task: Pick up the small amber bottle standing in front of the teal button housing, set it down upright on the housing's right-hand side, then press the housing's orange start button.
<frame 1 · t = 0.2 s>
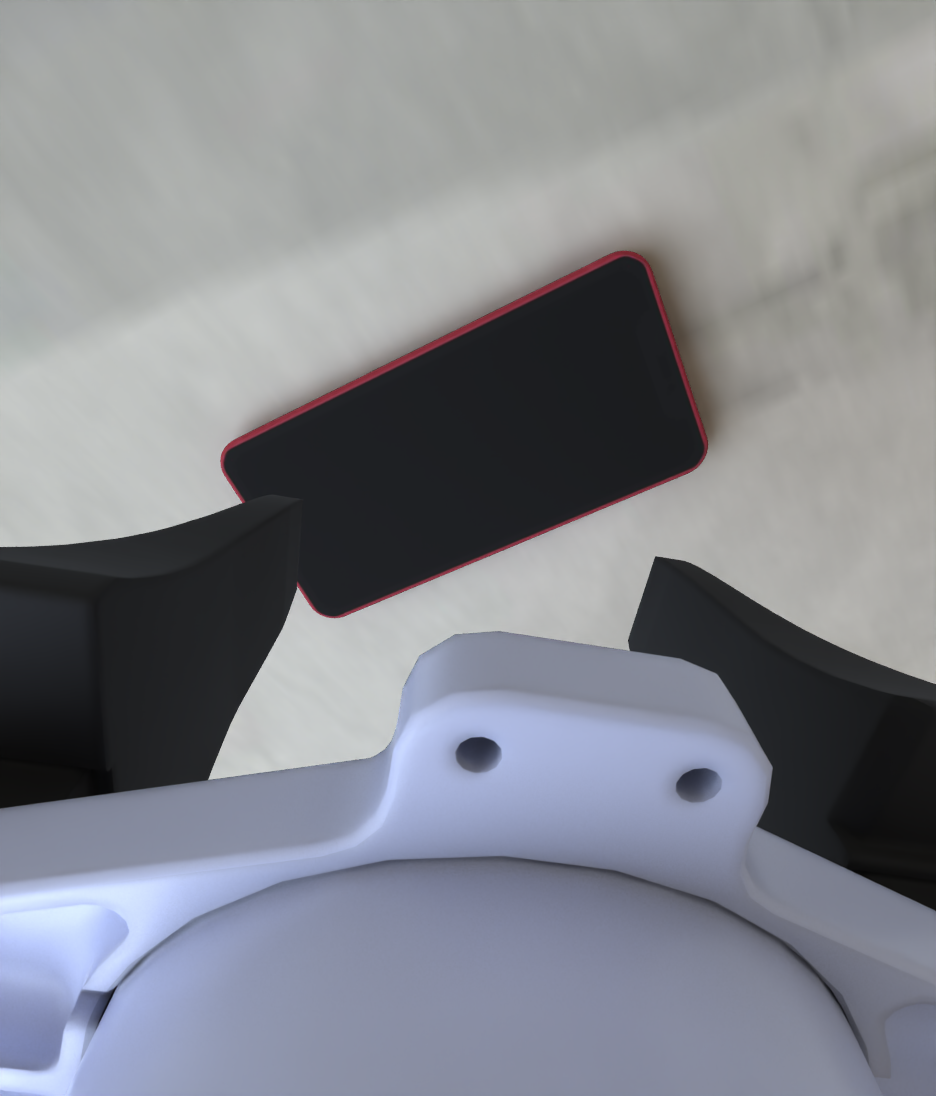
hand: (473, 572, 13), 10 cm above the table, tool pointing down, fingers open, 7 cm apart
smartphone: (462, 449, 23), on the table
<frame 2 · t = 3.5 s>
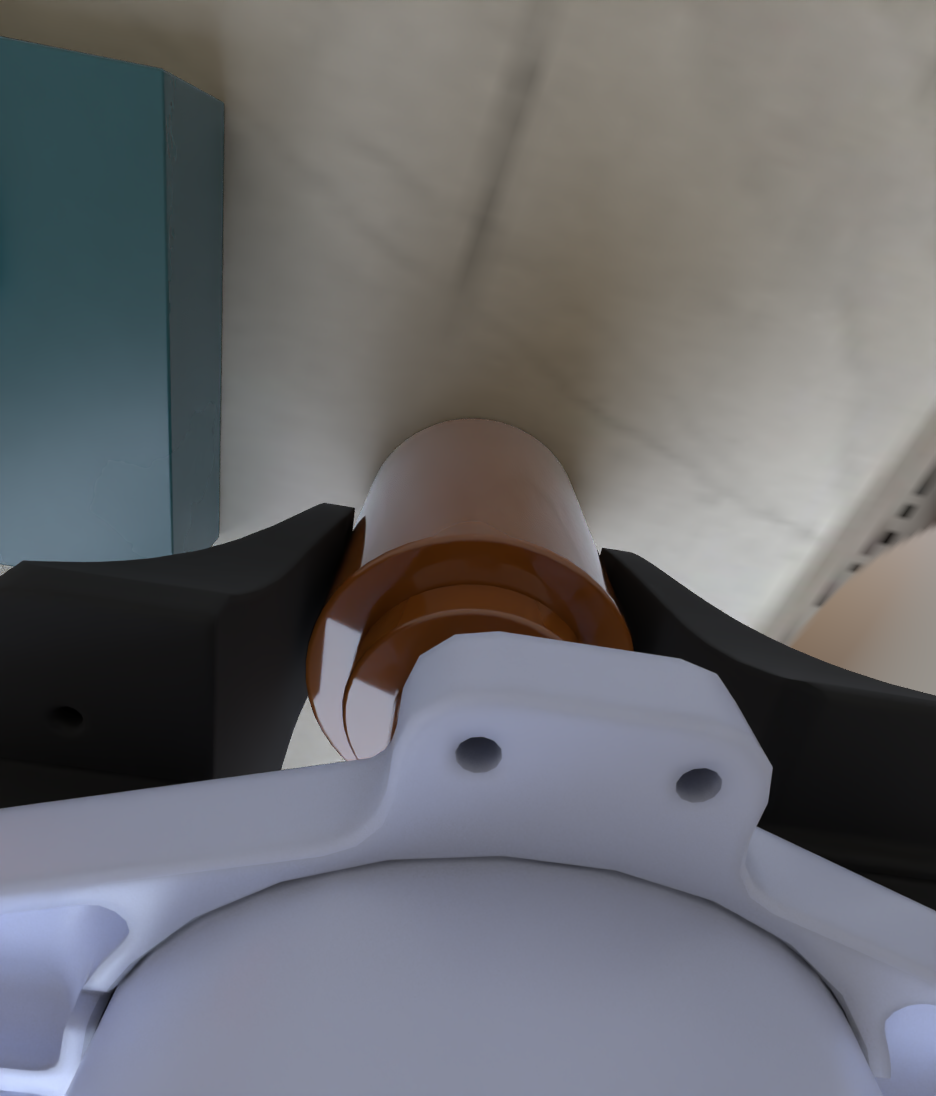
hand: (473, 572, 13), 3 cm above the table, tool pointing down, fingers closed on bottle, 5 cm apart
bottle: (471, 520, 16), on the table, touching gripper
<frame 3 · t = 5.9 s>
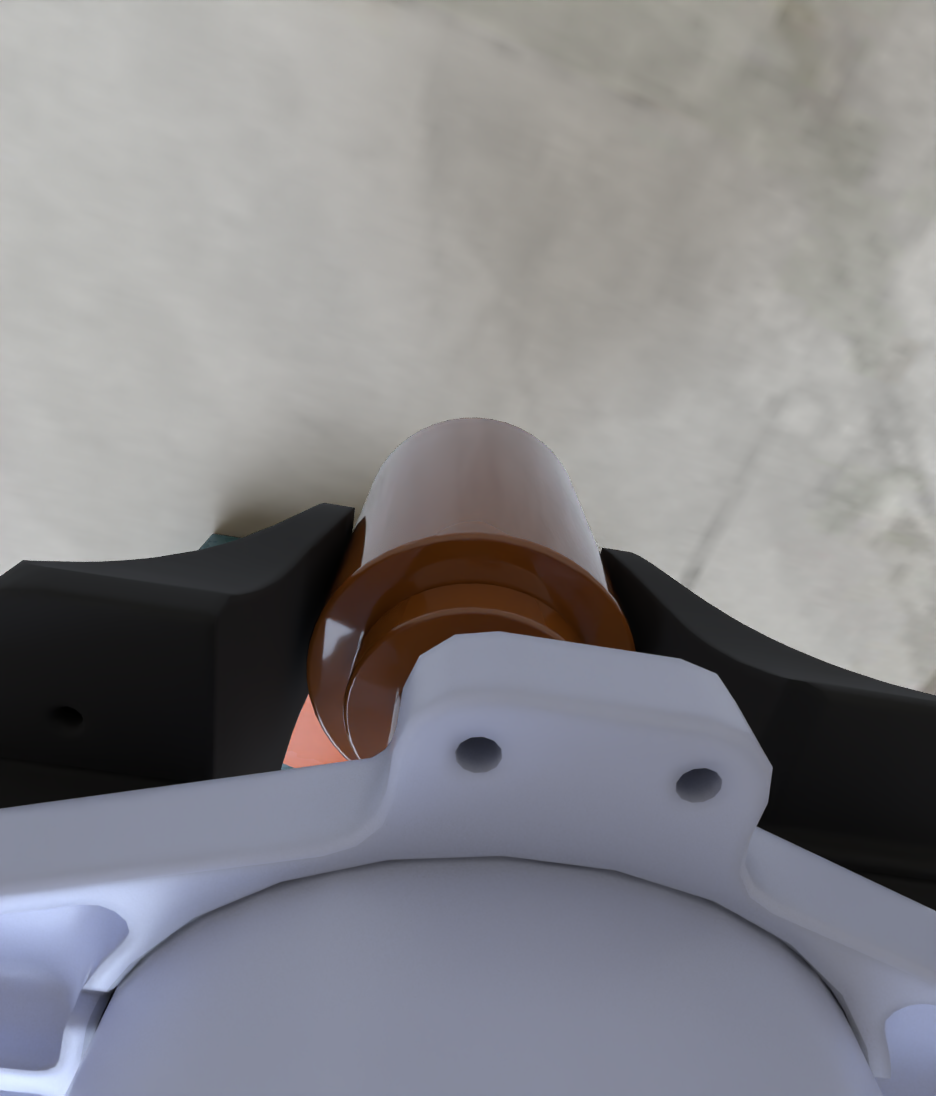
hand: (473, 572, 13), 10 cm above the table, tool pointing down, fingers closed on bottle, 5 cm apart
bottle: (472, 520, 16), point 7 cm above the table, touching gripper
teal button housing: (366, 660, 26), on the table
start button: (316, 708, 21), point 5 cm above the table, slide at 0.1 cm
when the fingers open (3 cm above the table, at t = 8.4 s): bottle stays where it is, on the table.
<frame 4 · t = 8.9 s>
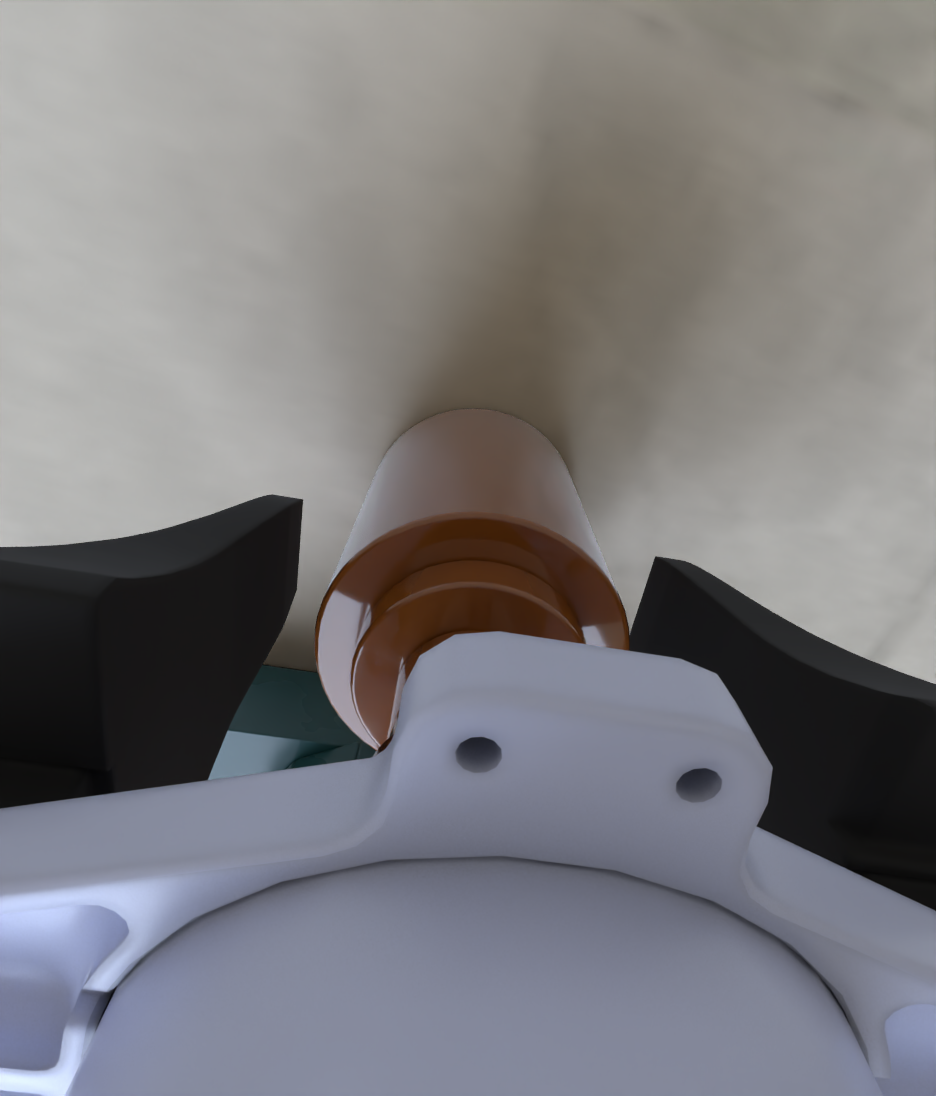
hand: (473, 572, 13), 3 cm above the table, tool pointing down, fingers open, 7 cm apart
bottle: (472, 508, 16), on the table
teal button housing: (417, 805, 21), on the table
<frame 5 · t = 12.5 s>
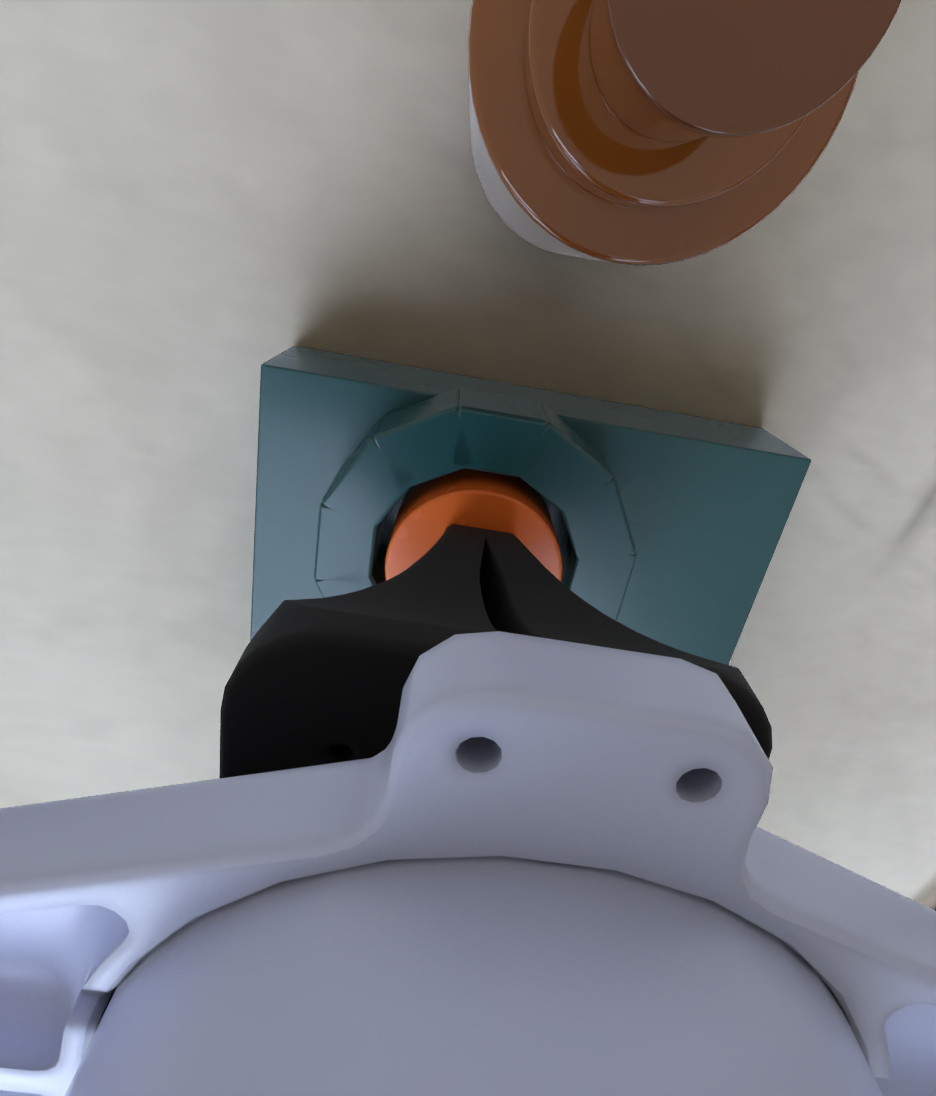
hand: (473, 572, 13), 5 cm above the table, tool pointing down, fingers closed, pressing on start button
bottle: (586, 128, 14), on the table
teal button housing: (499, 548, 18), on the table
start button: (473, 555, 14), point 4 cm above the table, slide at -1.0 cm, touching gripper
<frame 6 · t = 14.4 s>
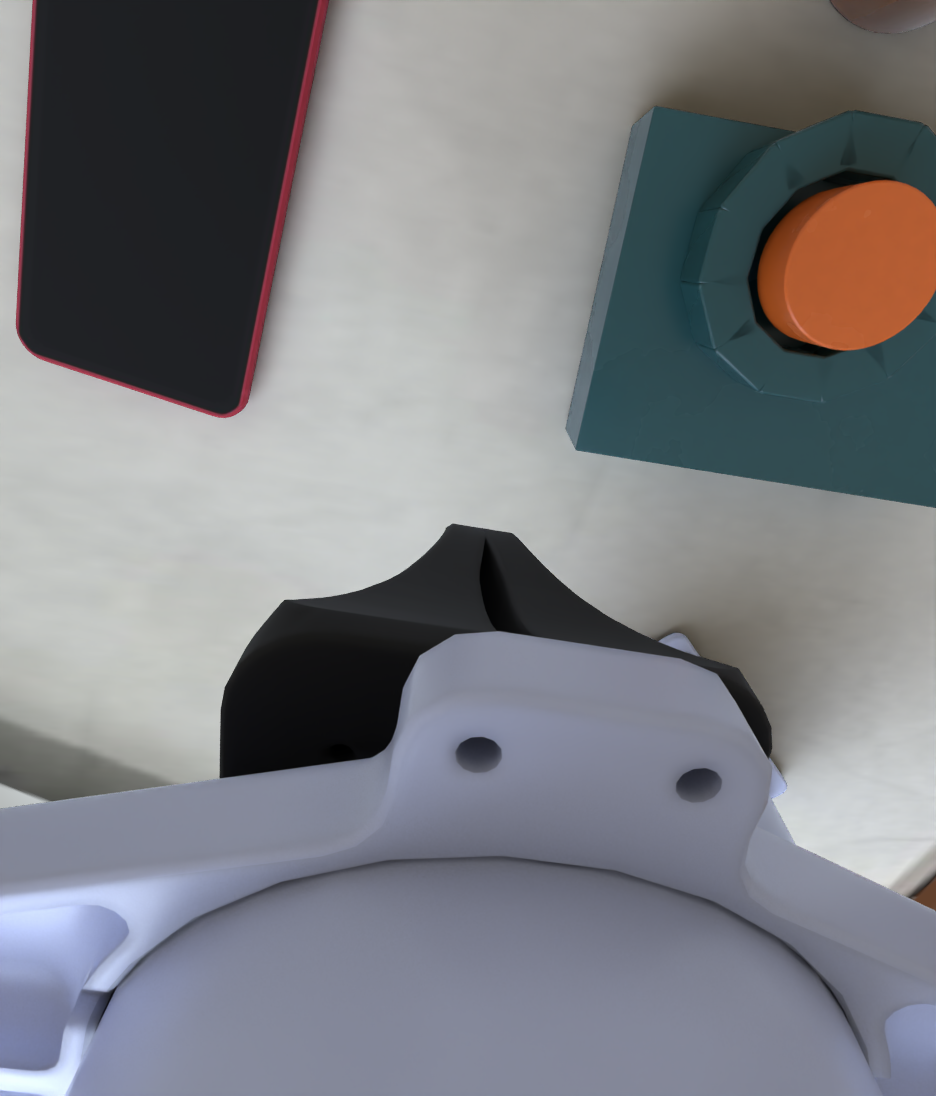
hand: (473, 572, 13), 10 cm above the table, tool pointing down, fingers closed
teal button housing: (779, 321, 21), on the table
smartphone: (176, 139, 19), on the table
start button: (846, 268, 16), point 5 cm above the table, slide at 0.1 cm
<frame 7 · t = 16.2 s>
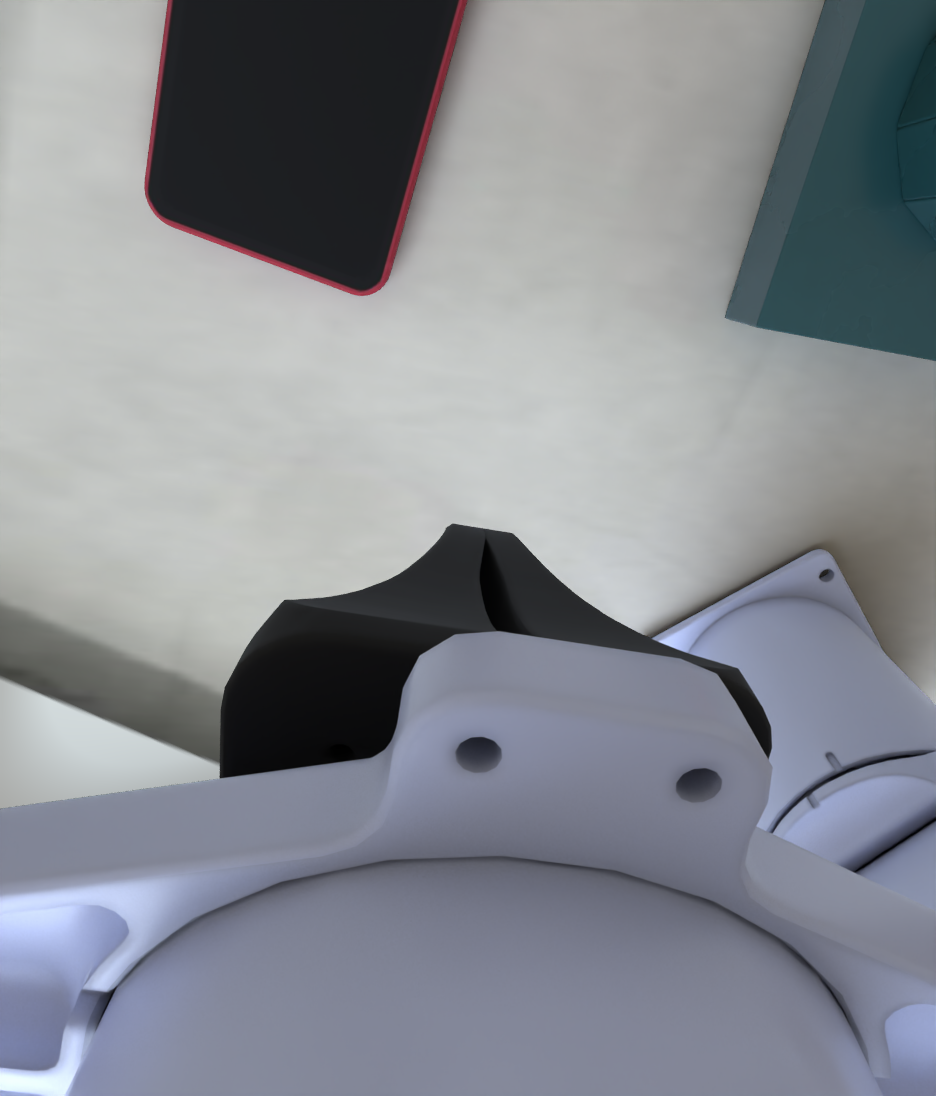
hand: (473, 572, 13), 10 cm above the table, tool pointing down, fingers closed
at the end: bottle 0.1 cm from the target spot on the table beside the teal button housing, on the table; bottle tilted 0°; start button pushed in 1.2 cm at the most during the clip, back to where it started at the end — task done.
